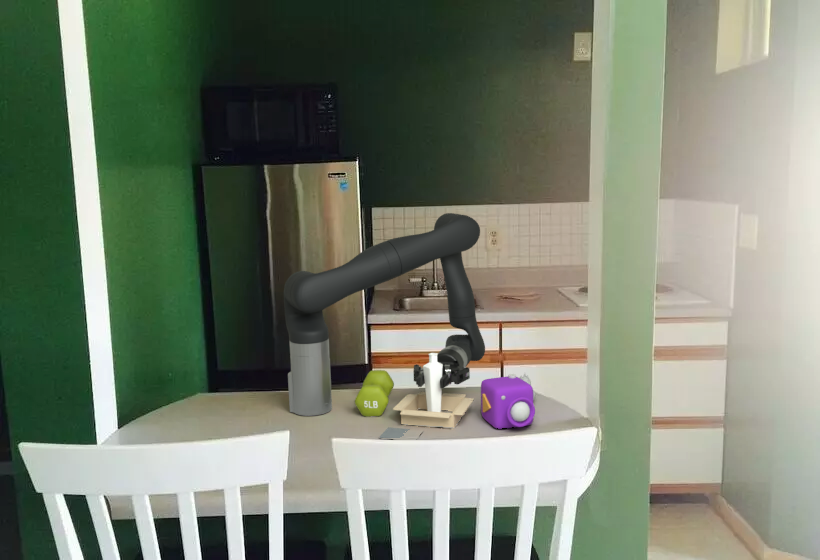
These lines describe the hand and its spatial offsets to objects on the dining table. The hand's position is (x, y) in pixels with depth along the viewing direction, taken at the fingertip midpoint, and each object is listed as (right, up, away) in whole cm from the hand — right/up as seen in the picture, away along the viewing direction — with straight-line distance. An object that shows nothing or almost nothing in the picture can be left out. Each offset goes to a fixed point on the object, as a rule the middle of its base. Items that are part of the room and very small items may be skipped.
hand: (430, 383), depth 157 cm
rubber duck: (+23, -7, +13) cm, 27 cm away
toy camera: (+18, -9, -2) cm, 20 cm away
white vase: (+1, -9, +4) cm, 10 cm away
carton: (+1, -9, +4) cm, 9 cm away
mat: (-6, -10, -6) cm, 14 cm away
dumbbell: (-13, -8, +13) cm, 20 cm away
